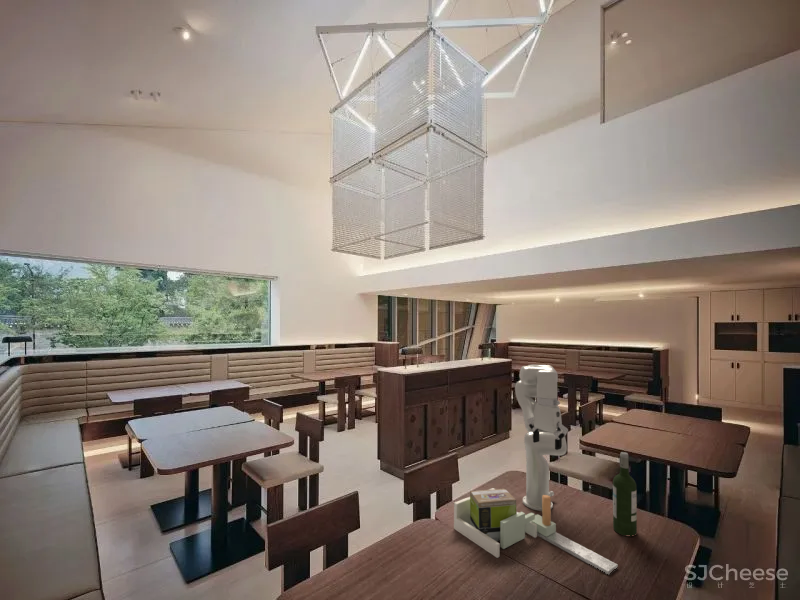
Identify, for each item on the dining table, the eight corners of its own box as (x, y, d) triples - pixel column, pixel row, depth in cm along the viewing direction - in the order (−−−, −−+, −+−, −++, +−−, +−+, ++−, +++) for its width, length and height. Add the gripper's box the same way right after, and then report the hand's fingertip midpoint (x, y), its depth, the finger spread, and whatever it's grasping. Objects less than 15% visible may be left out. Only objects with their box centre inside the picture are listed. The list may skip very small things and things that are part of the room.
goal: (492, 512, 162) (492, 488, 162) (536, 536, 144) (536, 509, 144) (453, 528, 149) (454, 502, 149) (497, 557, 131) (497, 528, 131)
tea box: (505, 525, 152) (506, 487, 152) (517, 540, 142) (517, 499, 142) (469, 528, 149) (469, 489, 150) (478, 543, 139) (478, 502, 140)
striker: (537, 524, 152) (537, 488, 152) (555, 534, 145) (555, 496, 146) (497, 544, 138) (497, 505, 138) (515, 556, 131) (515, 515, 132)
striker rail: (517, 515, 159) (517, 512, 159) (617, 568, 127) (617, 564, 127) (508, 519, 156) (508, 516, 156) (608, 575, 123) (608, 571, 123)
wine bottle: (640, 538, 144) (639, 457, 145) (617, 535, 145) (616, 456, 146) (632, 527, 151) (631, 450, 152) (610, 524, 153) (609, 448, 154)
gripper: (572, 404, 146) (572, 450, 145) (533, 396, 160) (533, 437, 160) (561, 407, 142) (561, 454, 141) (522, 398, 156) (522, 441, 155)
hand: (546, 445), depth 150 cm, fingers open, 9 cm apart
